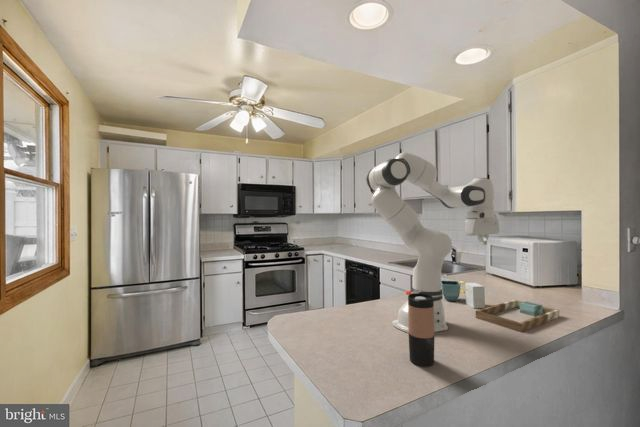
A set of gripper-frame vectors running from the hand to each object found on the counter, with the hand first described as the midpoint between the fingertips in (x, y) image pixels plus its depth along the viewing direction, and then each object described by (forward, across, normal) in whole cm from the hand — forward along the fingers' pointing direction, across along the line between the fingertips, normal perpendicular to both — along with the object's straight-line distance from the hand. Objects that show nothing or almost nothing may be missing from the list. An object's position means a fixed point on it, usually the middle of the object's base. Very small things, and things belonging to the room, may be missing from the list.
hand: (483, 244), depth 131 cm
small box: (+31, -7, -9) cm, 33 cm away
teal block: (+31, -18, +10) cm, 37 cm away
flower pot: (+31, -6, -22) cm, 39 cm away
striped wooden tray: (+31, -8, +10) cm, 34 cm away
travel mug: (+31, +57, +15) cm, 67 cm away
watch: (+31, -25, -28) cm, 49 cm away
